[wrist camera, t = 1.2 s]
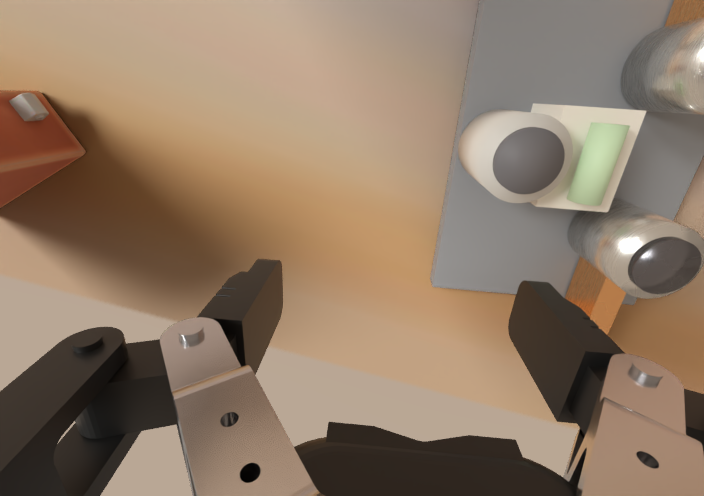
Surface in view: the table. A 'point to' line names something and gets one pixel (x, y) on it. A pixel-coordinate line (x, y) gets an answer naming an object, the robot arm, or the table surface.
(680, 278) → the knob
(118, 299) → the table surface
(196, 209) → the table surface
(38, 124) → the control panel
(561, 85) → the levelling plate
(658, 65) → the knob
